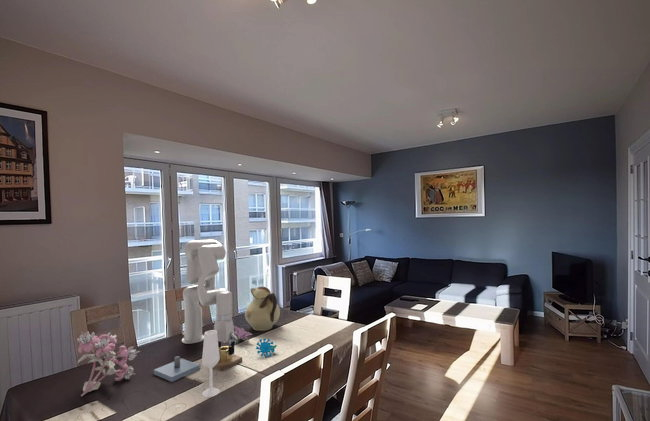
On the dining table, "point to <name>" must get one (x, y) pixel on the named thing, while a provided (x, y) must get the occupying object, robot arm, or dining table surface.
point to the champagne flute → (210, 359)
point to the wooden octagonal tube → (224, 354)
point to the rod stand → (228, 363)
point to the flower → (107, 348)
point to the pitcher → (262, 309)
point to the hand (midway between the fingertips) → (224, 352)
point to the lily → (241, 333)
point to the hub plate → (176, 369)
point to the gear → (265, 347)
